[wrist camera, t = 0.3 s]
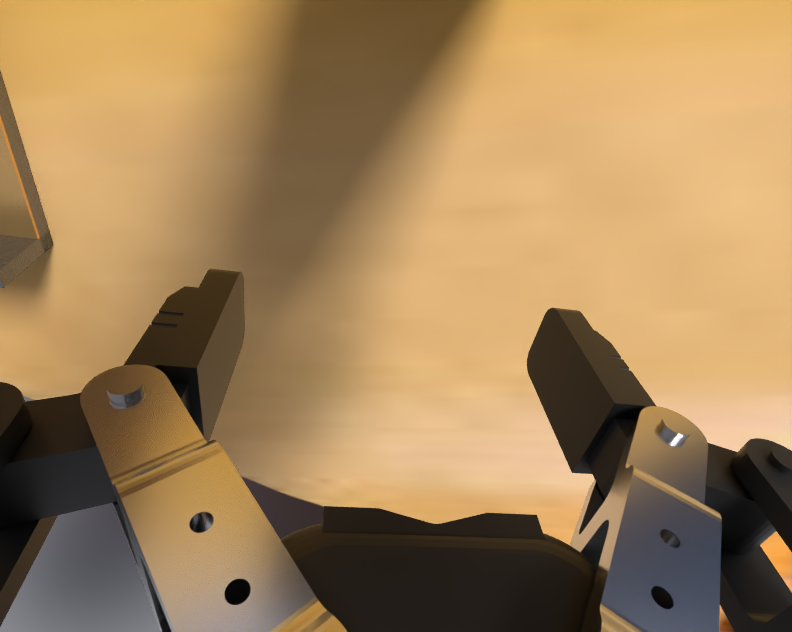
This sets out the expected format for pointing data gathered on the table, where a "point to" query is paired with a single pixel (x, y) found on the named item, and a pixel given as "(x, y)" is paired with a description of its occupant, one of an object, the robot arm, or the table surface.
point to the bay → (17, 201)
